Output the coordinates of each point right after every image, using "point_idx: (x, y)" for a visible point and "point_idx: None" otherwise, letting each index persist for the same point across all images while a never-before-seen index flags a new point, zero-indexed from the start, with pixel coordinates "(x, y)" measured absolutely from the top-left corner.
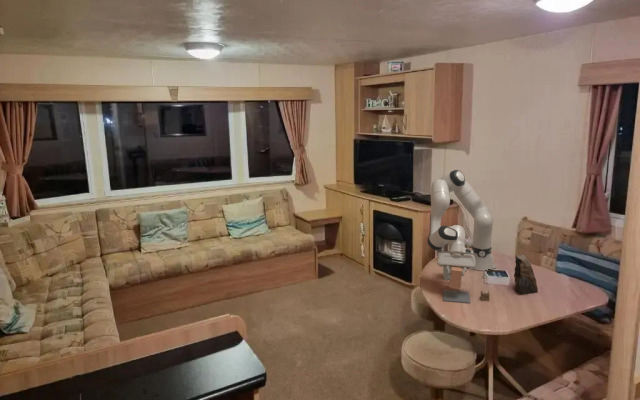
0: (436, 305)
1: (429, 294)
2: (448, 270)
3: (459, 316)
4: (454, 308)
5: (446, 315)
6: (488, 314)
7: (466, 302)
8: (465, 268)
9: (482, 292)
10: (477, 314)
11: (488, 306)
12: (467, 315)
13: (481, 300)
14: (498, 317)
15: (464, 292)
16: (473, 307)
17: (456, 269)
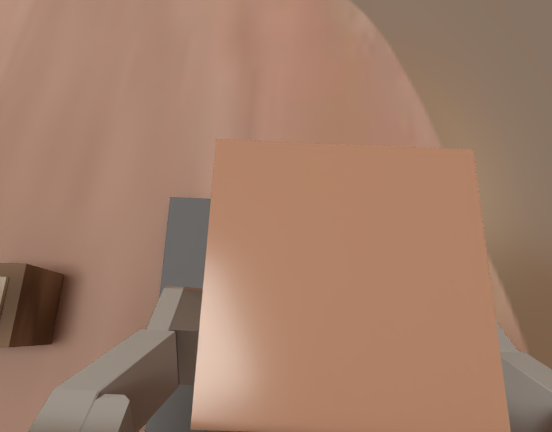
0: (424, 132)
1: (506, 325)
2: (515, 356)
3: (271, 9)
4: (298, 105)
5: (350, 12)
6: (75, 52)
7: (201, 199)
8: (76, 404)
9: (5, 303)
10: (151, 44)
11: (35, 171)
12: (220, 25)
13: (61, 274)
14: (19, 23)
15: (190, 416)
16: (159, 138)
17: (354, 229)
